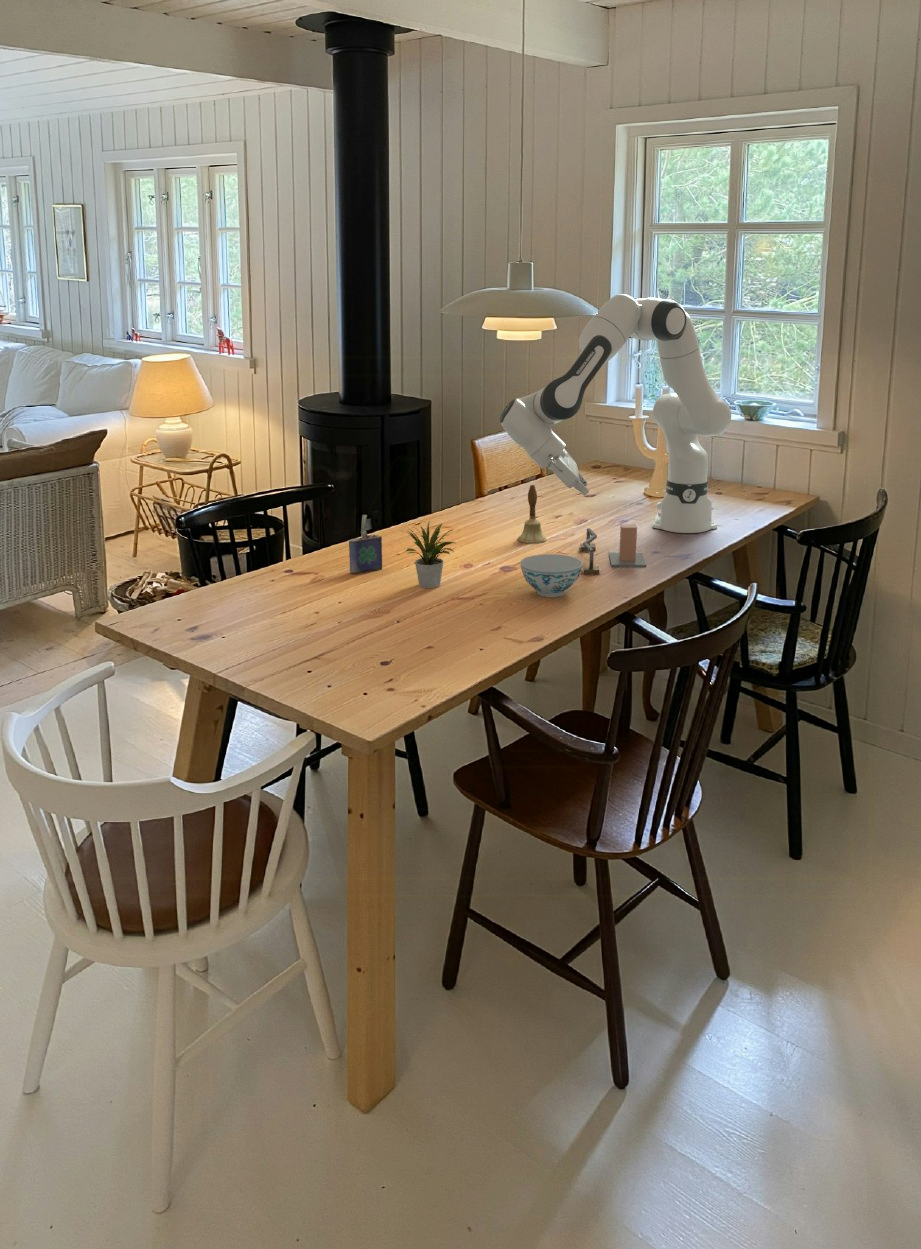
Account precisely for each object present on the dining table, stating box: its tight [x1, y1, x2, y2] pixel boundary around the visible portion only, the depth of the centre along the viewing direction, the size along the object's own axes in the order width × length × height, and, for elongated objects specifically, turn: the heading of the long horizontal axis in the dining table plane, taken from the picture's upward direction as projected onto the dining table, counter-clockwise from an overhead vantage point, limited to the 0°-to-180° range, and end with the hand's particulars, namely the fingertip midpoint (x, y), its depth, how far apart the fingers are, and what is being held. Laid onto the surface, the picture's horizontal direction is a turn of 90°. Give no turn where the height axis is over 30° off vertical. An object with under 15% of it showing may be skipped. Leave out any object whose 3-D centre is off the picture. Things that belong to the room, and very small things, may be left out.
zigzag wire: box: [579, 527, 600, 575], centre depth 293 cm, size 26×4×6 cm, turn 176°
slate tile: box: [608, 551, 647, 568], centre depth 293 cm, size 12×9×1 cm
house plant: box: [401, 520, 456, 589], centre depth 270 cm, size 14×14×16 cm
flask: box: [348, 530, 383, 575], centre depth 285 cm, size 9×3×11 cm, turn 121°
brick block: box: [618, 523, 638, 561], centre depth 291 cm, size 4×4×9 cm
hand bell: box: [517, 484, 547, 545], centre depth 312 cm, size 8×8×16 cm
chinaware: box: [519, 553, 583, 598], centre depth 266 cm, size 15×15×8 cm
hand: (586, 489), depth 287 cm, fingers open, 8 cm apart
